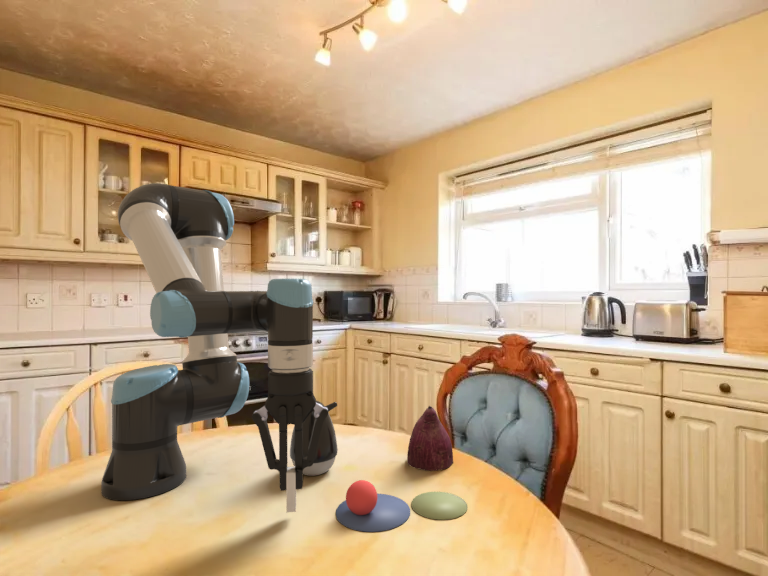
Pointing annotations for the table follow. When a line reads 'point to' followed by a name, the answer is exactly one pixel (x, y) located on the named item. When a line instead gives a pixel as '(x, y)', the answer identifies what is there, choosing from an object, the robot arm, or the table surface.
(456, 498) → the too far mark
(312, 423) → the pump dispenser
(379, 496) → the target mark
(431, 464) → the vegetable
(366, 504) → the ball
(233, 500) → the table surface
